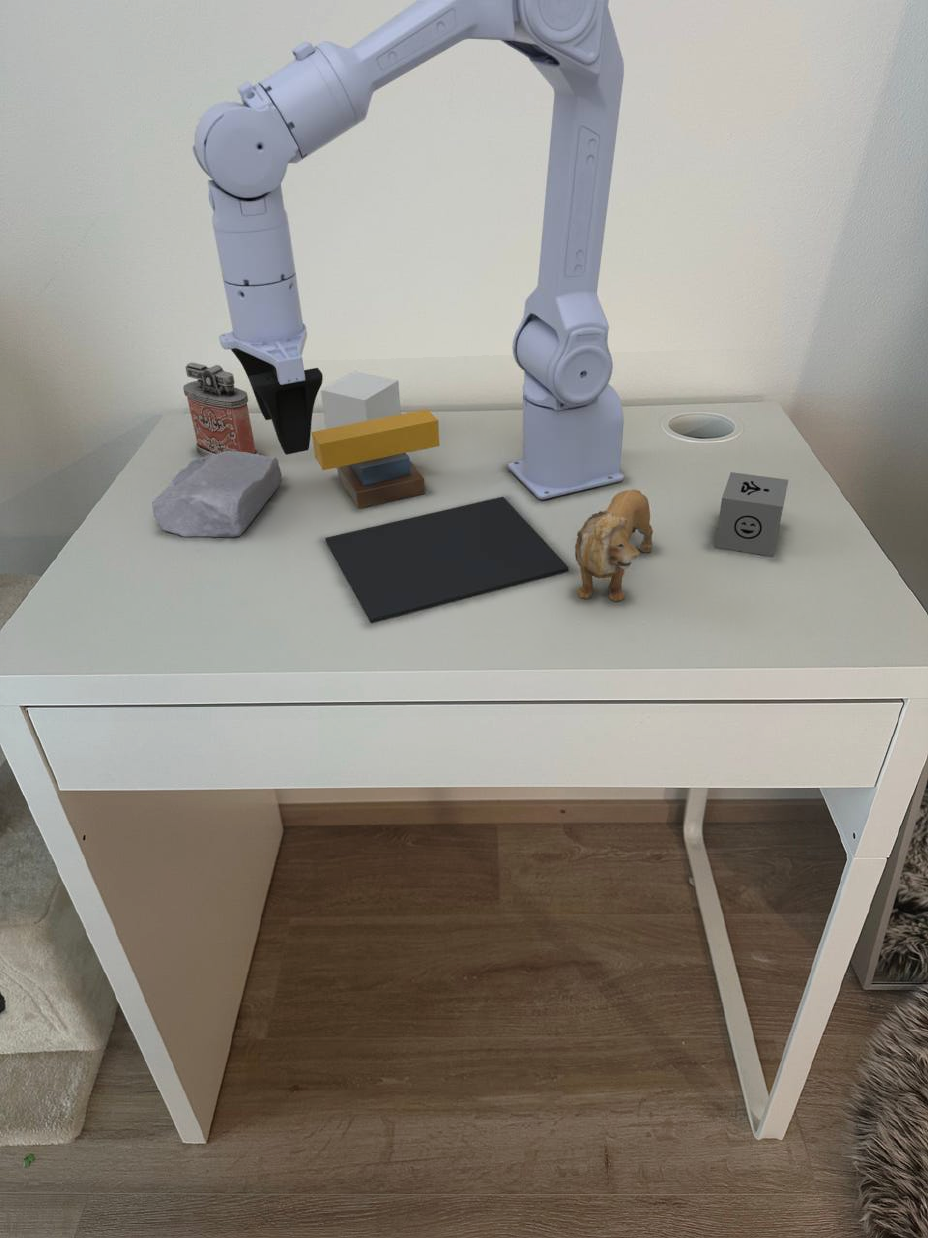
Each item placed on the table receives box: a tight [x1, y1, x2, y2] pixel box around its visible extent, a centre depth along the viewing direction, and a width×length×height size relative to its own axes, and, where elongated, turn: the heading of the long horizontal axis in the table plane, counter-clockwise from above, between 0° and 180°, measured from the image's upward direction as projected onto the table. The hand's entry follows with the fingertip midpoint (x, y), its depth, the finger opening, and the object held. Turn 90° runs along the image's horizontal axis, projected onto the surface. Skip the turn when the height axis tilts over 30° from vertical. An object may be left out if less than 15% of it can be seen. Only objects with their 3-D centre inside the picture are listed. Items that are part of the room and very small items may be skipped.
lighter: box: [182, 362, 259, 457], centre depth 99 cm, size 8×3×10 cm, turn 58°
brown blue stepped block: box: [336, 453, 426, 509], centre depth 94 cm, size 7×7×4 cm
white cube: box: [320, 370, 402, 429], centre depth 103 cm, size 6×6×6 cm
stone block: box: [151, 451, 282, 538], centre depth 92 cm, size 12×5×10 cm
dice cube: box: [714, 471, 789, 558], centre depth 83 cm, size 5×5×5 cm
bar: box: [311, 408, 440, 471], centre depth 92 cm, size 12×3×3 cm, turn 112°
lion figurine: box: [574, 488, 654, 602], centre depth 78 cm, size 15×5×9 cm, turn 162°
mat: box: [325, 496, 570, 624], centre depth 84 cm, size 18×14×1 cm
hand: (285, 433), depth 82 cm, fingers open, 7 cm apart
